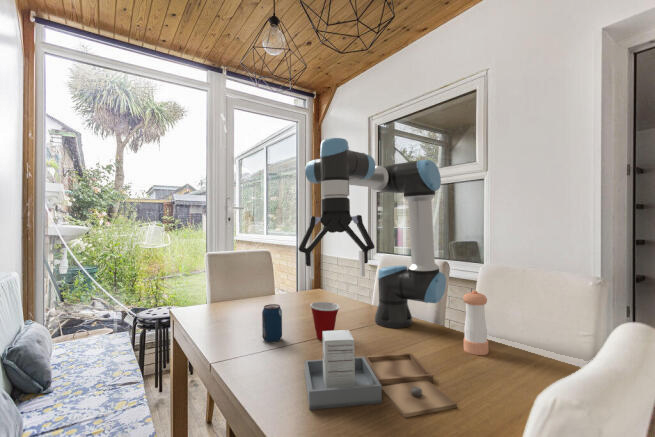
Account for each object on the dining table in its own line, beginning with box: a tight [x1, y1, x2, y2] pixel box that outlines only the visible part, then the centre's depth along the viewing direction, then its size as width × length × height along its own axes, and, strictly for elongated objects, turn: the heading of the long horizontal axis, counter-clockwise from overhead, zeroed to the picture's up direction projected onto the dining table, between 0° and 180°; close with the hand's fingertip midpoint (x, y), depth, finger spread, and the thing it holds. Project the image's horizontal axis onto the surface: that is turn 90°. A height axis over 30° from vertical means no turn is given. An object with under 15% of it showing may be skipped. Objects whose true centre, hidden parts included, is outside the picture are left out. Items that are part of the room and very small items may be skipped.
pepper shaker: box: [462, 289, 490, 356], centre depth 105 cm, size 7×7×19 cm
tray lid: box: [382, 380, 458, 419], centre depth 77 cm, size 13×12×2 cm
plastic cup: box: [310, 301, 341, 341], centre depth 118 cm, size 11×11×12 cm
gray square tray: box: [304, 356, 383, 411], centre depth 82 cm, size 17×17×4 cm
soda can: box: [261, 303, 283, 344], centre depth 117 cm, size 7×7×12 cm
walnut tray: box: [363, 352, 434, 386], centre depth 91 cm, size 15×15×2 cm
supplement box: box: [322, 329, 356, 389], centre depth 82 cm, size 7×7×13 cm
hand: (337, 277), depth 87 cm, fingers open, 13 cm apart
